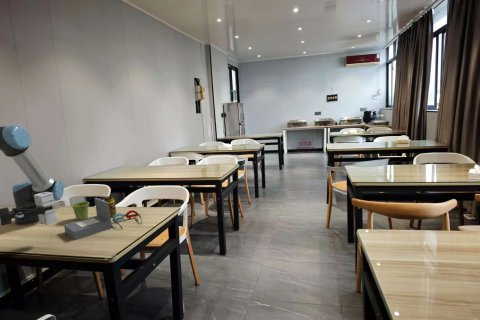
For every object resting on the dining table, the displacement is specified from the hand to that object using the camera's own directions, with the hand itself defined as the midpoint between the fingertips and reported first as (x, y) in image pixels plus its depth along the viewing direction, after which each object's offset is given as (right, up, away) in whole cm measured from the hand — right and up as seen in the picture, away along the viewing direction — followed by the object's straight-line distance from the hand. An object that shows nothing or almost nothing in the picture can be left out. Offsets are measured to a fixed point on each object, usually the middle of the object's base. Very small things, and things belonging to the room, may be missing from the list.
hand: (57, 203), depth 150 cm
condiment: (+12, -12, +31) cm, 36 cm away
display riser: (+10, -15, +11) cm, 22 cm away
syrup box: (-3, -9, -2) cm, 10 cm away
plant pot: (-4, -13, +32) cm, 35 cm away
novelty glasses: (+28, -14, +18) cm, 36 cm away
